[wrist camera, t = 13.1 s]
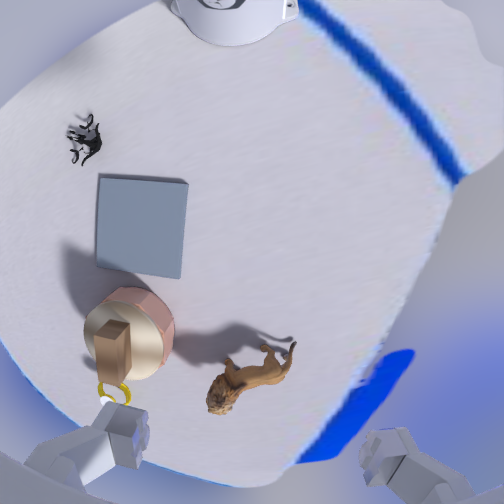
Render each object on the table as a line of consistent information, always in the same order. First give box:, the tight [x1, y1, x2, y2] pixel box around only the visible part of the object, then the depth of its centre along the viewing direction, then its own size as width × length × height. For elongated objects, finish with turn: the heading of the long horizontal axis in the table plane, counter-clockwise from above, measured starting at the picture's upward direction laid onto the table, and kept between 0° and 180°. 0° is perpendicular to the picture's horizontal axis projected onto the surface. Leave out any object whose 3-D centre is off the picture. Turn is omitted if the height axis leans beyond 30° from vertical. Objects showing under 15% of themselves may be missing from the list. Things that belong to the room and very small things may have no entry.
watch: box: [98, 382, 131, 406], centre depth 46 cm, size 6×3×6 cm, turn 48°
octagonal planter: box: [86, 287, 175, 368], centre depth 43 cm, size 12×12×6 cm
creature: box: [67, 114, 102, 166], centre depth 38 cm, size 8×5×8 cm
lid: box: [84, 300, 164, 387], centre depth 37 cm, size 12×12×6 cm
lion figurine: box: [206, 341, 297, 415], centre depth 42 cm, size 15×5×9 cm, turn 122°
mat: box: [97, 178, 189, 279], centre depth 42 cm, size 13×13×1 cm
